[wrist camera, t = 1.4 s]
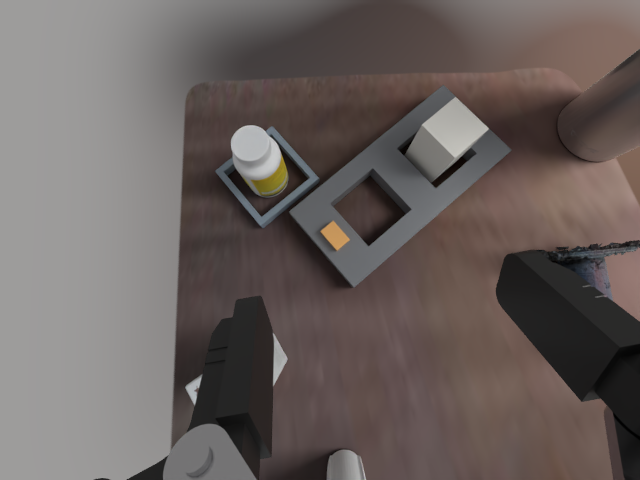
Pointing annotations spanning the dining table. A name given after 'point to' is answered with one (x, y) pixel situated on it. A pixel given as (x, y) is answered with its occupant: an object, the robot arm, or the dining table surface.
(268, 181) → the supplement bottle
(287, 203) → the blue-grey square frame
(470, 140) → the socket strip
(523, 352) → the dining table surface
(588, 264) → the dark piece
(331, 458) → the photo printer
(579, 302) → the robot arm
